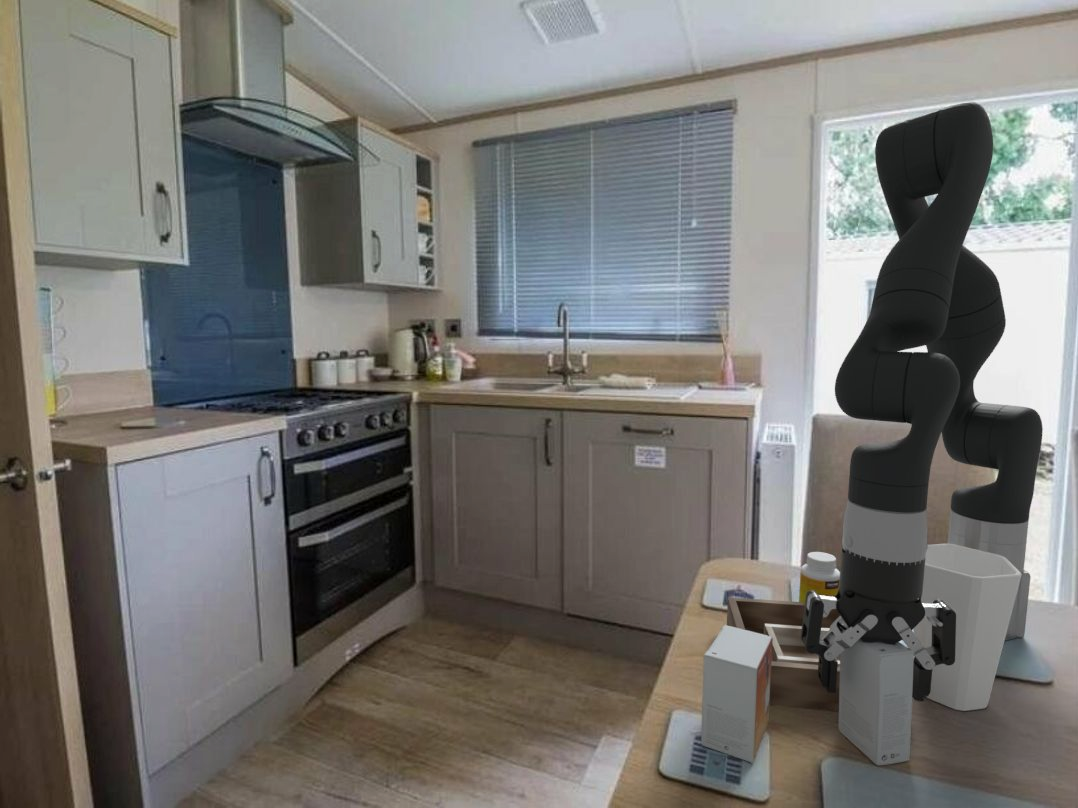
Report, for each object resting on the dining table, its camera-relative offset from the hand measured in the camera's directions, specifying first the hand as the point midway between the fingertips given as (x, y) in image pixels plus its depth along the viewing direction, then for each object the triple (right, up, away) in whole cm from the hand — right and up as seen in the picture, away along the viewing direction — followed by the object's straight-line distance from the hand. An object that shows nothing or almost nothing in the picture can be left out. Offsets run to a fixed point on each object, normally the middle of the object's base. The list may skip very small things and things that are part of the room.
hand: (871, 692), depth 65 cm
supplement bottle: (+7, -3, +28) cm, 29 cm away
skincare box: (0, -6, +1) cm, 6 cm away
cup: (+15, -5, +10) cm, 19 cm away
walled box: (0, -4, +15) cm, 16 cm away
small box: (-14, -6, +3) cm, 15 cm away
